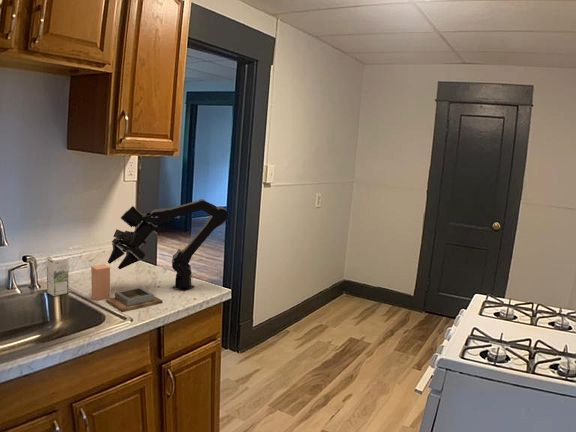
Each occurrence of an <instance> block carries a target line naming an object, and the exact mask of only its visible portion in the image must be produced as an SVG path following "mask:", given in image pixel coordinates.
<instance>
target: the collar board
mask: <svg viewBox="0 0 576 432" xmlns="http://www.w3.org/2000/svg"><path fill="white" fill-rule="evenodd" d="M105 302H106V303H108V304H109V305H110V306H111V307H113V308H115V309H116V310H118V311H119V312H121V313H123V312H124V313H125V312H129V311H133V310H137V309H142V308H145V307H151V306H156V305H159V304H163V300H162V299H161V298H159V297H157V296H156V295H155V294H154V293H152V292H150V291H148V290H147V289H145V288H143V287H136V288H130V289H124V290H120V291H115V292H114V297H110V298H107V299H105Z"/></svg>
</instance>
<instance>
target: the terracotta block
mask: <svg viewBox="0 0 576 432" xmlns="http://www.w3.org/2000/svg"><path fill="white" fill-rule="evenodd" d="M90 269H91V274H90V275H91V279H90V280H91V282H90V283H91V298H93V299H94V300H96V301H102V300H106V299H109V298H111V267H110V266H108V265H106V264H99V265H93V266H91V268H90Z"/></svg>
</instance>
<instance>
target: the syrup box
mask: <svg viewBox="0 0 576 432" xmlns="http://www.w3.org/2000/svg"><path fill="white" fill-rule="evenodd" d="M46 284H47V285H46V290H47V291H46V292H47V294H49V295H50V296H53V297H57V296H63V295H66V294H67V293H68V294H69V289H70V288H69V258H68V257H67V256H65V255H63V254H59V255H58V254H57V255H52V256H47V257H46Z"/></svg>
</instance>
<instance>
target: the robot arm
mask: <svg viewBox="0 0 576 432" xmlns="http://www.w3.org/2000/svg"><path fill="white" fill-rule="evenodd" d="M198 211H203V212H204V213H207V214H208V215H209V217H208V219H207V221H206V223H204V225H203V226H202V228H201V229H200V230H199V231H198V233H197V234H196V235H195V236H194V237H193V239H191V241H189V243H188V244H187V245H186V247H185V248H183V249H180V248H179V249H177V250H176V252H175V253H174V254H173V255H172V260H171V266H172V269H173V270H174V271H175V272H176V274H175V281H174V282H175V285H173V286H172V289H177V290H179V291H188V290H190V289H192V288H195V285H193V284H192V267H191V264H189V263H190V261H191V259H192V257H193V255H195V253H196V252H197V251H198V249H199V248H200V247H201V246H202V244H203V243H204V242H205V241H206V240H207V239H208V237H209V236H210V235H211V234H212V232H213V231H214V230H215V229H216V228H218V227H219V226H221V225H223V224H224V223H225V222H226V221H227V219H228V218H229V214H228V211H227V210H226V208H225V207H224V206H217V205H214V204H213V203H210V202H208V201H207V200H205V199H202V198H201V199H198V200H195V201H192V202H191V201H190V202H188V203H185V204H181V205H178V206H174V207H166V208H163V207H162V208H155V209H152V210H151V212H147V213H141V212H140V211H139V210H138V209H137V208H136V207H135V206H134V205H132V206H131V207H130V208H129V209H128V210H126V211H125V212H124V213H123V214H122V216H120V220H122V221H123V222H124V223H126V224H127V225H128V226H129V227H130V228H135V229H134V231H132V230H131V231H128V230H125V231H123V230H120V229H115V232H114V234H113V237H114V238H113V240H111V246H112V251H111V253H110V256H109V258H108V260H107V263H108V264H112V263H113V262H115V261H117V260H118V259H119V258H121V257H122V256H124V255H125V254H126V255H125V256H124V258H123V259H122V260H121V262H120V263H119V265H118V267H117V269H118V270H122V269H124V268H126V267H129V266H131V265H133V264H135V263H137V262H140V261H144V260H145V258H146V253H145V252H144V251H143V250H142V249H141V246H142V245H146V244H147V242H146V241H147V240H148V239H149V237H150V236H151V235H152V234H153V232H154V234H159V233H160V230H159V229H160V228H159V226H160V225H162V224H163V225H164V224H165V223H168V222H169V221H170V220H172V219H174V218H178V217H181V216H184V215H188V214H192V213H196V212H198Z"/></svg>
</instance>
